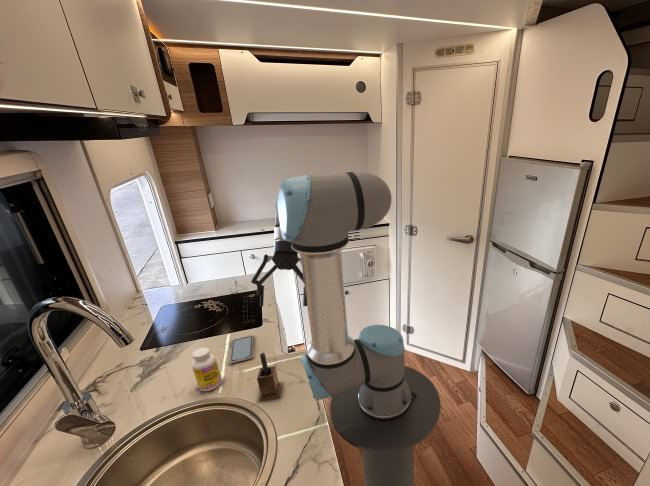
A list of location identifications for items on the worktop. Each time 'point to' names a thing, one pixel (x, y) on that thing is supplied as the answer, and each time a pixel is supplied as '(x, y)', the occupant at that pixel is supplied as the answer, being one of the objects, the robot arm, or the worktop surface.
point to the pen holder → (268, 384)
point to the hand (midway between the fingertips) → (283, 306)
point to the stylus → (264, 364)
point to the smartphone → (242, 349)
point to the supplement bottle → (205, 369)
